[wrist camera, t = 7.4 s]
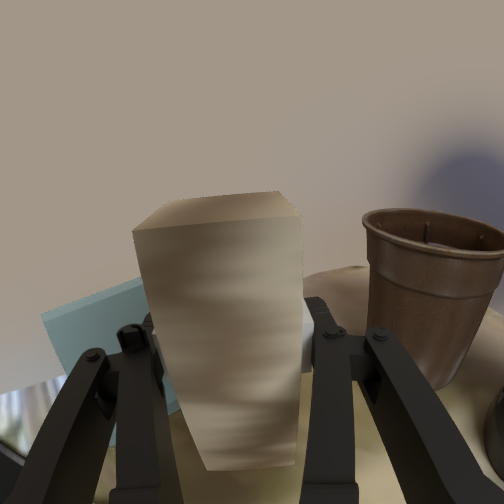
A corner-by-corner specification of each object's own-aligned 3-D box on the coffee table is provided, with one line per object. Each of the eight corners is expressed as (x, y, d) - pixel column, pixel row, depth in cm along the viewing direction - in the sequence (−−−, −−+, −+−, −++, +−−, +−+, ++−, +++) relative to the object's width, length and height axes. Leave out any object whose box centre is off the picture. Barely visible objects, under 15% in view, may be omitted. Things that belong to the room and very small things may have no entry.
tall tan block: (283, 402, 18) (277, 190, 13) (294, 465, 13) (302, 215, 8) (210, 407, 18) (170, 200, 13) (207, 470, 13) (132, 230, 8)
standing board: (236, 372, 30) (225, 261, 25) (110, 447, 19) (46, 333, 15) (207, 353, 33) (192, 250, 29) (90, 415, 22) (38, 305, 18)
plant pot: (396, 309, 39) (410, 201, 34) (486, 352, 26) (521, 230, 20) (318, 357, 31) (327, 218, 26) (430, 434, 18) (499, 271, 13)
